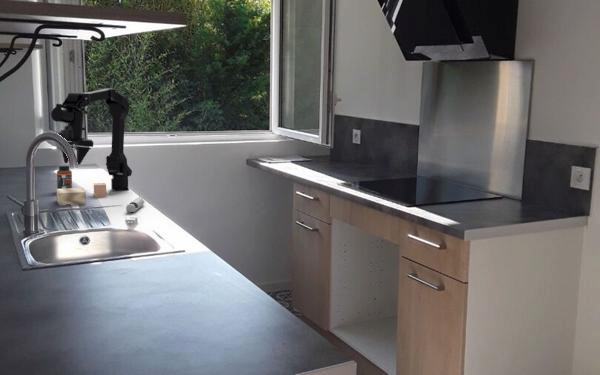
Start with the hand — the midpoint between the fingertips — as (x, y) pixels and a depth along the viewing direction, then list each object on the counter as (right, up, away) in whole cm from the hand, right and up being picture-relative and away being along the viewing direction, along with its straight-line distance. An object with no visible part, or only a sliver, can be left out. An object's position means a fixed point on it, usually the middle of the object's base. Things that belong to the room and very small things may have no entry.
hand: (72, 163), depth 252 cm
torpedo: (+28, -18, -10) cm, 35 cm away
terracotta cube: (+7, -13, +13) cm, 20 cm away
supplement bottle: (-10, -11, +20) cm, 25 cm away
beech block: (0, -15, -2) cm, 16 cm away
